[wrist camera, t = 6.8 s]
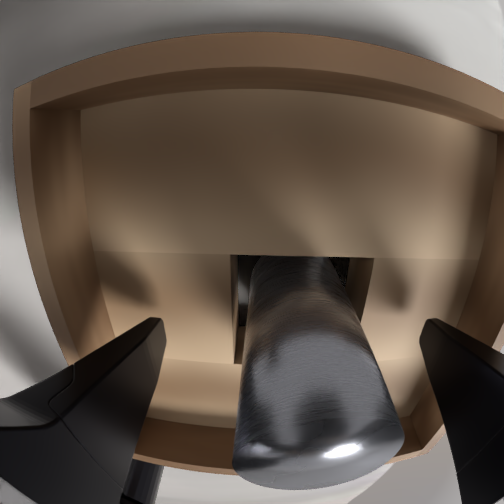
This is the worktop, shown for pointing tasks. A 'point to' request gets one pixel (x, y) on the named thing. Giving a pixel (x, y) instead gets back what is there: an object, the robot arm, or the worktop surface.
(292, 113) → the tray
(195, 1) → the worktop surface
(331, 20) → the worktop surface
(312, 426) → the peg
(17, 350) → the worktop surface
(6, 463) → the robot arm
